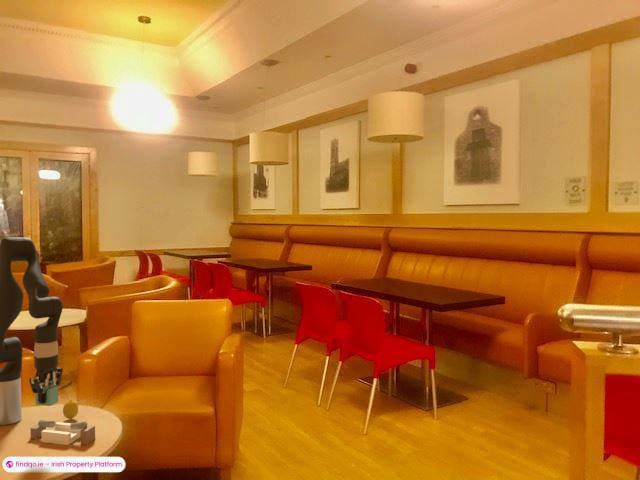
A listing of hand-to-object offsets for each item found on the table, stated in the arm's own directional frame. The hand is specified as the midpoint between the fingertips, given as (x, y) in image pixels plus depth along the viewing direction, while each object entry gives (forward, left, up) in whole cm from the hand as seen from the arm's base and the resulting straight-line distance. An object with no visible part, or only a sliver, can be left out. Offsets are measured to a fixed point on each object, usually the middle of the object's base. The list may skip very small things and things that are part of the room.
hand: (46, 400), depth 186 cm
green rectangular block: (0, 0, -1) cm, 1 cm away
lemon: (-8, +23, -17) cm, 30 cm away
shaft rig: (+1, +7, -17) cm, 18 cm away
